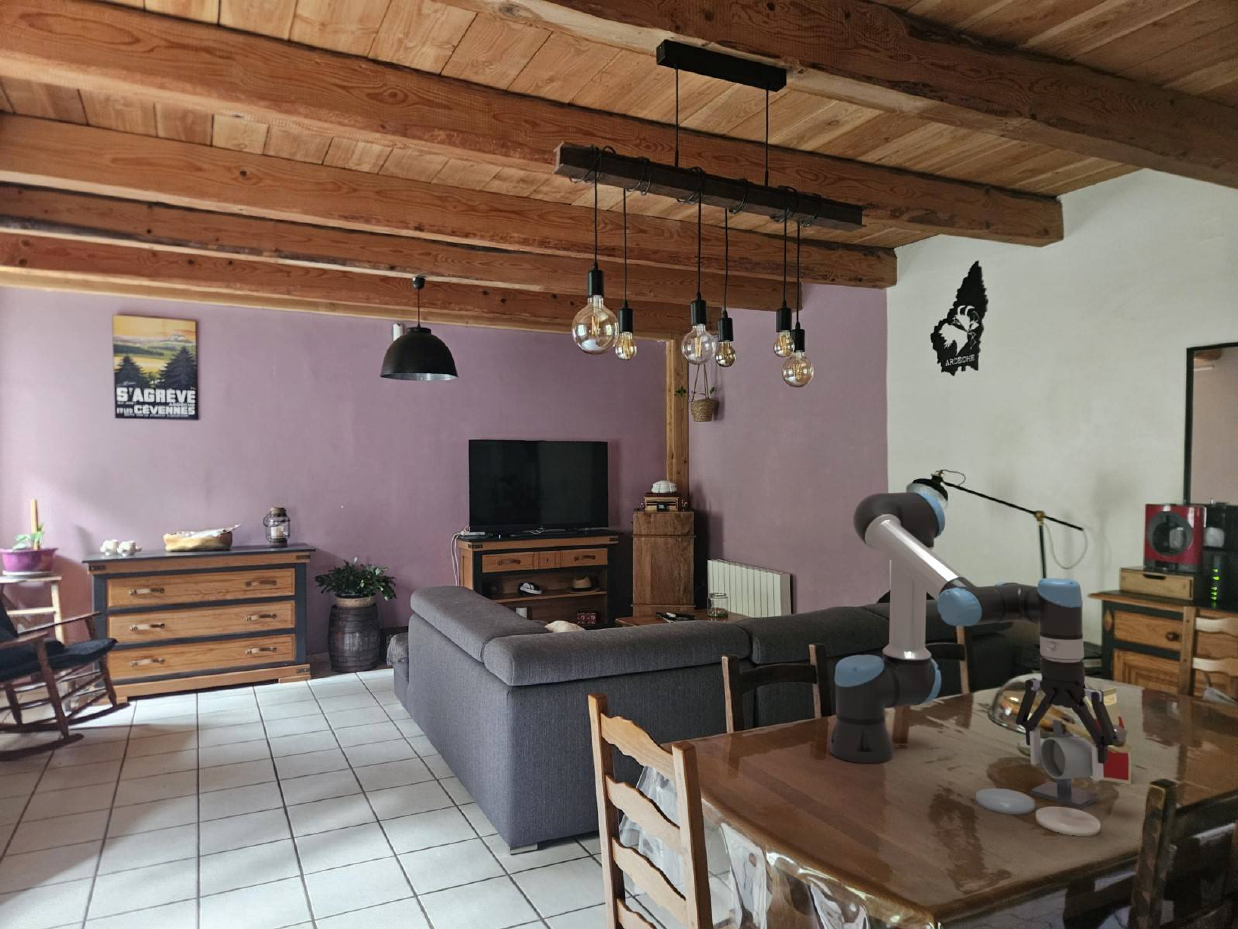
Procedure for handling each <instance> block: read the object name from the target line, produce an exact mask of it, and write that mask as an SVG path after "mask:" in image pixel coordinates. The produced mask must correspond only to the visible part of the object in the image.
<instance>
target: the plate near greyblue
mask: <svg viewBox="0 0 1238 929" xmlns="http://www.w3.org/2000/svg"><path fill="white" fill-rule="evenodd" d="M975 801H977V802H976V804H977V805H979V804H980V805H981V806H980V805H979V806H980V807H982V808H983V809H985V808H986V809H985V810H988V811H991V812H994V811H996V812H995V813H997V812H999V813H998V814H1002V813H1005V814H1004V815H1010V814H1023V815H1028V814H1031V813H1032V812H1031V811H1033V810H1034V811H1035V809H1036V808H1035V807H1036V806H1035V800H1034V799H1033V798H1032V797H1031V796H1029V795H1027V794H1024V793H1023V792H1020V791H1015V790H1011V789H1006V788H985V789H980V790H978V791H977V792H976V794H975ZM1034 808H1035V809H1034ZM1034 811H1033V812H1034ZM1030 812H1031V813H1030ZM1027 813H1028V814H1027Z"/></svg>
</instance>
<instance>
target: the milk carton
mask: <svg viewBox="0 0 1238 929" xmlns="http://www.w3.org/2000/svg"><path fill="white" fill-rule="evenodd" d="M1101 690H1102V691H1103V694H1104V704H1105V707H1106V709H1107V712H1108V714H1109V717H1110V720H1111V722H1112V724H1113V725H1117V726H1120V727H1122V728H1124V729H1125V730H1126V731H1127V728H1126V725H1125V722H1124V720H1123V716H1122V713H1121V710H1120V708H1119V705H1118V701H1117V690H1118V687H1116V686H1115V687H1111V688H1106V689H1101ZM1084 698H1085V700H1086V701H1087V703H1086V705H1087V707H1088V710H1089V712H1090V713H1091V715H1092V716H1093V718H1094V720H1095V721H1096V723H1097V724H1098V726H1099V727H1100V725H1099V723H1098V720H1097V718H1096V715H1095V713H1094V710H1093V707H1092V703H1091V701H1089V698H1088V697H1087V696H1085V697H1084ZM1100 729H1101V728H1100ZM1085 730H1086V731H1087V729H1086V728H1085ZM1125 742H1126V743H1127V744H1128V745H1129V739H1128V735H1127V736H1126V739H1125ZM1091 743H1092V744H1095V743H1093V742H1091ZM1129 746H1130V745H1129ZM1131 758H1132V757H1131V752H1129V753H1119V752H1116V753H1113V752H1111V751H1109V750H1108V761H1107V763H1105V764H1103V775H1104V778H1103V779H1101V780H1100V781H1105V782H1112V783H1119V784H1127V785H1131V784H1132V762H1131V761H1132V759H1131ZM1089 778H1090V779H1091V780H1093V776H1090V777H1089Z"/></svg>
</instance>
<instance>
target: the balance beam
mask: <svg viewBox="0 0 1238 929" xmlns="http://www.w3.org/2000/svg"><path fill="white" fill-rule="evenodd" d="M1024 694H1025V693H1022V692H1018V691H1014V690H1004V691H1003V692H1002V698H1003V699H1004V700H1006V701H1007V702H1009V704H1012V705H1013V706H1016V707H1018V708H1020V706H1021V703H1022V700H1023V697H1024ZM1037 707H1038V706H1036V705H1034V704H1033V705H1032V708H1031V711H1030V714H1031V715H1032V714H1033V713H1034V711H1035V710H1036V709H1037ZM1042 719H1043V720H1045V721H1047V722H1049V723H1051V724H1053V720H1054V719H1055V720H1060V721H1062V728H1063V729H1066V730H1068V731H1070V732H1069V733H1072V734H1074V735H1076V736H1078V737H1079V738H1082V739H1086V740H1088V741H1090V742H1093V743H1095V742H1094V740H1093V739H1092V737H1091V735H1090V734H1089V732H1088V731H1086V729H1084V728H1082V727H1080V726H1078V725H1076V724H1074V723H1072V722H1071V723H1069V722H1067V721H1065V720H1063V719H1062V717H1058V716H1056V715H1054V714H1053V713H1050V712H1048V711H1047V712H1046V714H1045V715H1044V716H1043V718H1042ZM1112 725H1113V724H1112ZM1113 727H1114V730H1115V732H1116V735H1117V737H1118V740H1119V741H1118V743H1116V744H1114V745H1112V746H1108V747H1107V749H1108V750H1109V751H1111V752H1113V753H1116V752H1119V753H1129V752H1130V751H1131V745H1128V744H1129V743H1128V744H1127V743H1126V742H1125V739H1126V736H1127V737H1128V731H1127V729H1126V730H1125V729H1124V728H1122V727H1120V726H1117V725H1113ZM1095 744H1096V743H1095ZM1130 753H1131V752H1130Z"/></svg>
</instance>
